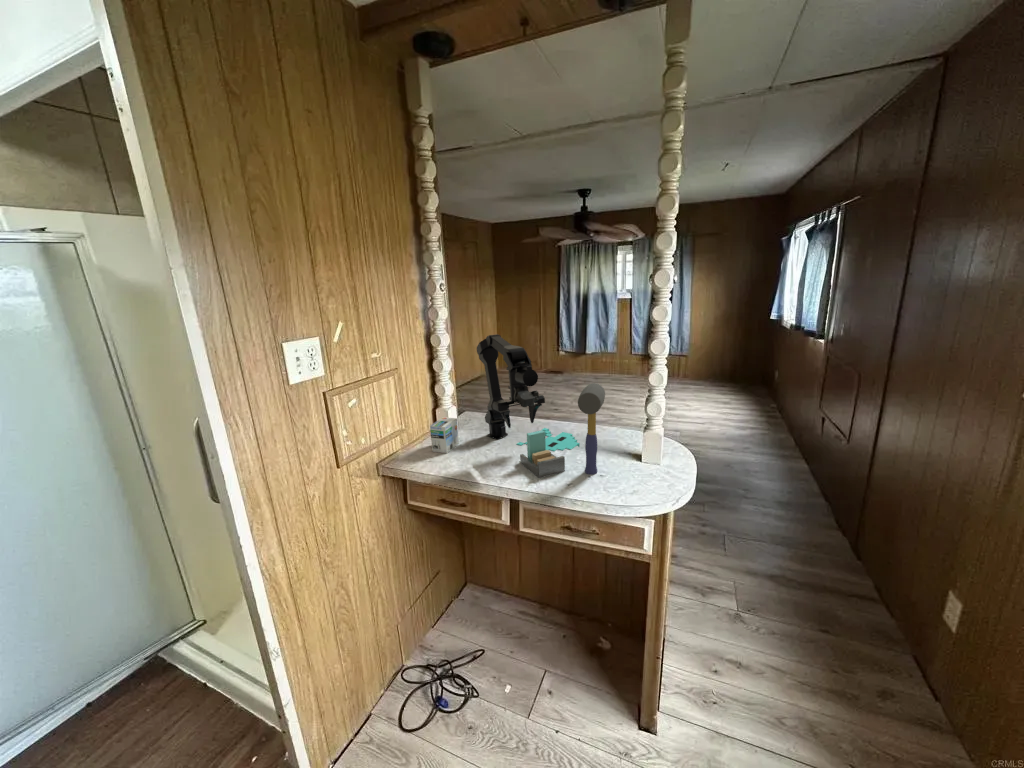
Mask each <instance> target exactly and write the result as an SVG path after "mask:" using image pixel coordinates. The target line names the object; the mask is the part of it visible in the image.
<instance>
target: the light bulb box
mask: <svg viewBox="0 0 1024 768" xmlns="http://www.w3.org/2000/svg"><path fill="white" fill-rule="evenodd" d="M429 430H430V440H431V452H434V453H441V454H448V453H449V452H450V451H452V450H453V449H455V447H456V446H457V445H458V444H459V443H460V441H459V425H458V418H457V417H446V416H442V417H441V418H439V419H437V420H436V421H435V422H433V423H432V424H430V425H429Z"/></svg>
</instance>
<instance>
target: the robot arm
mask: <svg viewBox="0 0 1024 768" xmlns="http://www.w3.org/2000/svg"><path fill="white" fill-rule="evenodd" d="M476 353H477V356H478V359H479V360H480V361H481V363H482V364H483V366H484V371H485V375H486V383H487V390H488V395H489V401H488V403H487V408H486V409H487V412H486V414H485V415H484V421H485V423H486V424H488V425H489V426H488V427H489V428H488V429H489V433H488V434H486V436H487V437H489V438H491V439H492V438H493V439H495V438H496V440H499V438H500V439H502V438H504V437H506V436H508V435H509V433H507V432H506V431H507V430H506V425H507V427H508V429H511V418H510V414H511V410H509V409H510V407H514V406H521V407H522V408H527V407H528V413H529V420H530V424H534V422H535V419H536V415H537V411H538V410H539V408H540V407H542V406H543V404H546V396H544V395H543V394H539V391H538V390H531V391H529V387H533V386H535V385H536V384H537V383H538V381H539V380H538V379H539V375H538V373H537V371H535V369H533V367H532V366H533V365H532V361H531V359H530V356H529V355H528V353H527V350H525V347H523V346H519V345H512V343H510V342H508V341H507V340H505V339H504V338H503V337H502V336H501V335H500V334H489V335H487V336H486V337H485V338H484V339H483V340H481V341H479V343H478V344H477V346H476ZM499 354H501V355H502V356H503V358H502V360H503V361H504V363H505V364H506V365H507V367H506V370H507V371H508V381H509V385H508V386H507V389H509V393H510V396H509V398H508V399H509V400H508V401H506V400H504V398H503V396H502V393H501V387H500V380H499V379H500V378H499V374H498V368H497V360H498V358H499ZM503 436H504V437H503ZM501 437H502V438H501Z"/></svg>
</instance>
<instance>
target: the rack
mask: <svg viewBox="0 0 1024 768" xmlns="http://www.w3.org/2000/svg"><path fill="white" fill-rule="evenodd" d="M551 456H554V457H555V458H553V459H549V460H545V461H541V462H537V465H536V464H535V463H534V462H532V461H531V460H530V459H529V458H528V456H526V455H525V454H523V453H521V454H519V457H520V458H519V459H520V460H519V461H518V463H519V464H521V465H522V466H523V467H524V468H525V469H527V470H528V471H529V472H530V473H532V474H533V475H534V476H535V478H537V479H541V478H545V477H549V476H552V475H556V474H560V473H564V472H566V467H565V465H566V461H565V459H566V458H565V456H564V455H560V456H556V455H555V454H553V453H551Z"/></svg>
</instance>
